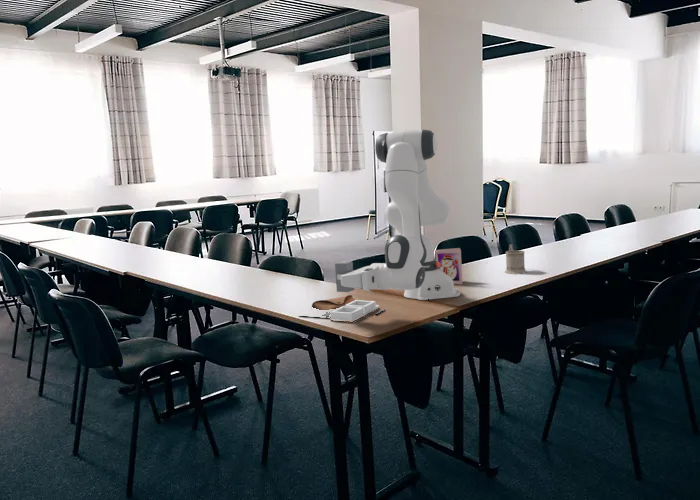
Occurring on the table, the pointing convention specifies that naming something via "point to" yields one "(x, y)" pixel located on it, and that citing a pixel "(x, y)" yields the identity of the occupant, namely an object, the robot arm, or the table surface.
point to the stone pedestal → (515, 261)
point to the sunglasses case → (333, 303)
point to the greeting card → (450, 263)
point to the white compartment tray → (354, 310)
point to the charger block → (343, 269)
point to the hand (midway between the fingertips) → (342, 275)
